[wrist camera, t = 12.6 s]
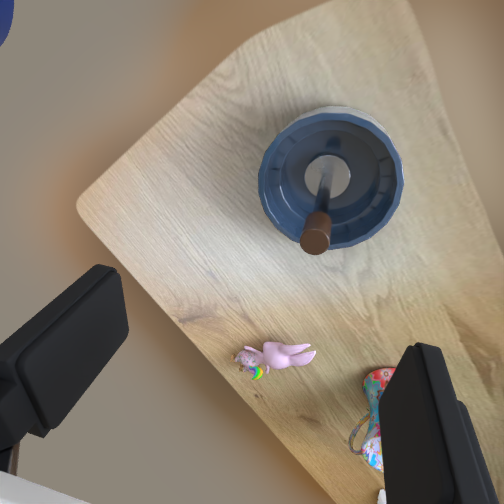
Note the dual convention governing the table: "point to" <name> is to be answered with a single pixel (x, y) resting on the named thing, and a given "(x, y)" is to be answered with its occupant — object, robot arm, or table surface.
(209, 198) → the table surface
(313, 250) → the wood-topped metal stand
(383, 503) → the pincushion
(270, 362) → the rabbit figure
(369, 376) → the mug
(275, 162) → the bowl
